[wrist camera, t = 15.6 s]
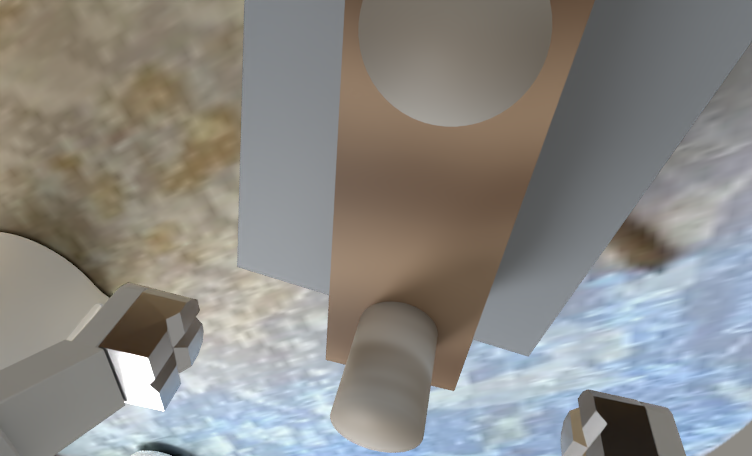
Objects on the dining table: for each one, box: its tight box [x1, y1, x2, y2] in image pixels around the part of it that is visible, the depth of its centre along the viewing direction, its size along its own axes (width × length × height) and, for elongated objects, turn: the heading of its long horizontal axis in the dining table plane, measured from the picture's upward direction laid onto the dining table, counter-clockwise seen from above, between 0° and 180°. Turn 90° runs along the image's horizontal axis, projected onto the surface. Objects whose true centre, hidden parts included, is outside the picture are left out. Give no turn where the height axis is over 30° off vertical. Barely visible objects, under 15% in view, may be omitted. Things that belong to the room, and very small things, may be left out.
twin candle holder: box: [326, 0, 595, 453], centre depth 15 cm, size 18×6×9 cm, turn 174°
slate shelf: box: [237, 0, 752, 356], centre depth 22 cm, size 22×16×10 cm
